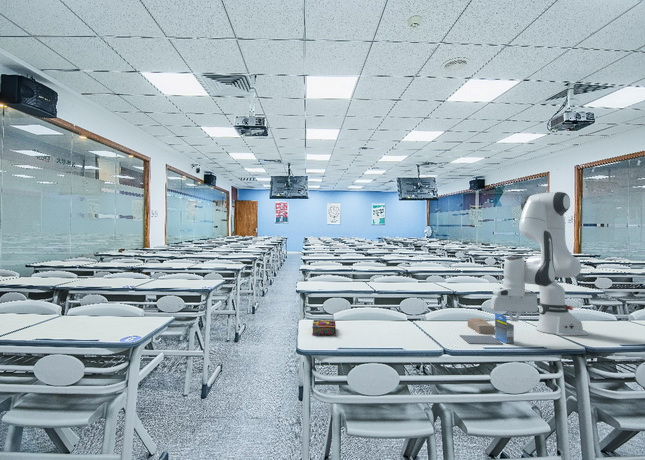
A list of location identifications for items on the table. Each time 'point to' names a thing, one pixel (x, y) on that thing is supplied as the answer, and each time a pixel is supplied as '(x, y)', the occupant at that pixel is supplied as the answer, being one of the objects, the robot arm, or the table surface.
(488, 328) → the brick
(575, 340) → the table surface
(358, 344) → the table surface
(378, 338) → the table surface
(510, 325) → the label tape cartridge
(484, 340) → the pad
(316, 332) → the decorated brown box
